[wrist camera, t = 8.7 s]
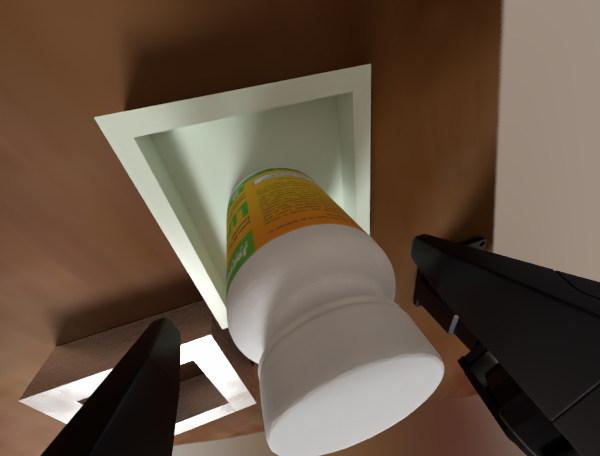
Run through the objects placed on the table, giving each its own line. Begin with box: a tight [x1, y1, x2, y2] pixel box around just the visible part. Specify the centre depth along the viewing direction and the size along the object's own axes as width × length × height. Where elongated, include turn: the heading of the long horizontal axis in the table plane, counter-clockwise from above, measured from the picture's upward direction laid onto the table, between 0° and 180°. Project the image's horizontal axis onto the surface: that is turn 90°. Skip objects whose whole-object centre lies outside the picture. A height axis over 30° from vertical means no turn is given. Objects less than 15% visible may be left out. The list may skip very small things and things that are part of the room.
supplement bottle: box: [226, 166, 444, 456], centre depth 9 cm, size 5×5×10 cm
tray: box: [94, 64, 371, 329], centre depth 12 cm, size 10×12×2 cm
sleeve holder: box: [18, 300, 256, 436], centre depth 16 cm, size 10×10×3 cm
